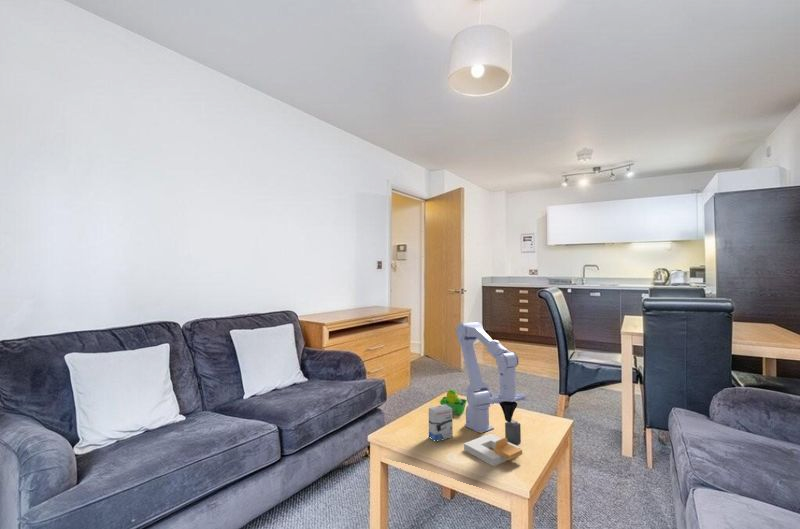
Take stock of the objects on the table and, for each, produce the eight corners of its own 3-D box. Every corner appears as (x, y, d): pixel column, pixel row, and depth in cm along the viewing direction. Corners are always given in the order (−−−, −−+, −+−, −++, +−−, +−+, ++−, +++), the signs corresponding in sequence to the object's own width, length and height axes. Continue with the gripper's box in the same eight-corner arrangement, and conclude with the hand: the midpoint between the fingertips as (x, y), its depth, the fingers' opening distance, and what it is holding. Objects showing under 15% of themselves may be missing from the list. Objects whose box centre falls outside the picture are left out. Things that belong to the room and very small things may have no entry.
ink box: (435, 442, 143) (434, 411, 143) (428, 437, 147) (427, 407, 147) (453, 437, 147) (452, 407, 147) (446, 432, 151) (445, 403, 151)
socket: (464, 450, 136) (463, 443, 136) (490, 440, 144) (490, 433, 144) (493, 466, 125) (493, 459, 125) (520, 454, 133) (520, 447, 133)
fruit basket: (467, 410, 175) (466, 386, 175) (462, 417, 167) (462, 391, 167) (444, 407, 180) (443, 383, 180) (438, 413, 172) (437, 389, 172)
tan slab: (494, 452, 129) (494, 442, 129) (506, 446, 133) (506, 437, 133) (509, 460, 124) (509, 449, 124) (522, 454, 127) (522, 444, 128)
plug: (505, 441, 143) (505, 420, 143) (512, 438, 145) (511, 418, 145) (513, 445, 140) (513, 424, 140) (520, 442, 142) (520, 421, 142)
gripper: (495, 389, 134) (495, 427, 134) (530, 386, 138) (531, 422, 138) (486, 383, 141) (486, 419, 141) (520, 380, 145) (520, 415, 145)
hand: (508, 420), depth 140 cm, fingers closed
